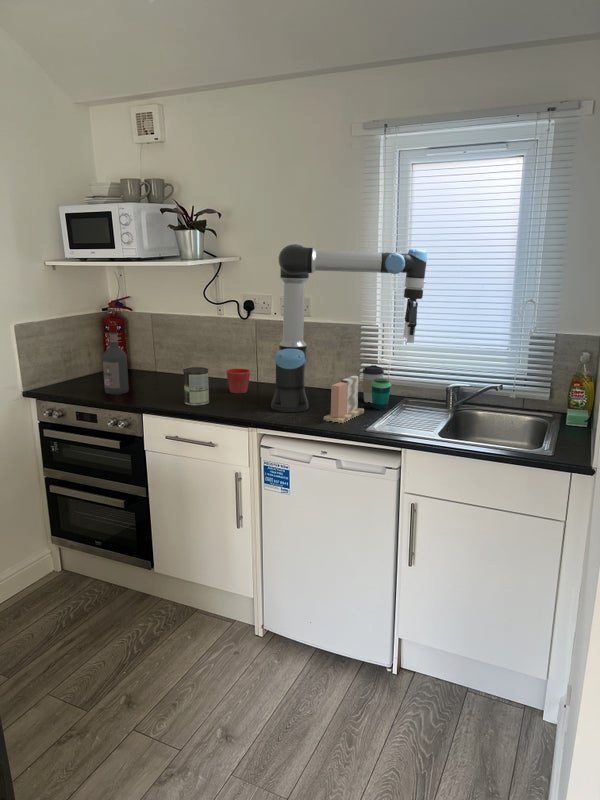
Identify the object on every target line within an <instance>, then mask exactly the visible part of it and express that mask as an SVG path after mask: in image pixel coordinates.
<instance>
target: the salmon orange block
mask: <svg viewBox="0 0 600 800" xmlns="http://www.w3.org/2000/svg"><path fill="white" fill-rule="evenodd" d="M330 387H331V388H330V389H331V391H330V392H331V393H330V394H331V395H330V397H331V398H330V414H331V416H332V417H340V416H342V415H344V414H346V413H347V383H343V382H341V381H339V382H337V383H334V384H332V385H331V386H330Z"/></svg>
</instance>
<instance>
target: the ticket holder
mask: <svg viewBox="0 0 600 800" xmlns="http://www.w3.org/2000/svg"><path fill="white" fill-rule="evenodd" d="M340 382H343V383H347V413H346V414H344V415H342V416H340V417H332V416H331V413H329V414H327V415H324V416H323V421H324V420H326V421H325V422H329V421H332V422H331V423H334V422H338V423H337V424H340V423H343V424H345V423H347V422H348V420H349V421H351V420H353V419H354V417H355V418H356V416H357V417H358V416H360V415H362V414H364V413H365V409H364V408H362V407H361V408H360V407H359V408H358V403H359V401H358V399H359V397H358V396H359V376H358V375H351V376H349V377H346V378H343V379H341V381H340ZM352 418H353V419H352ZM350 419H351V420H350ZM346 421H347V422H346ZM344 422H345V423H344Z"/></svg>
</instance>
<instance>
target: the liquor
mask: <svg viewBox="0 0 600 800" xmlns="http://www.w3.org/2000/svg"><path fill="white" fill-rule="evenodd" d="M108 334H109V345H108V348H107V350H105V352H104V353H102V354H103V355H102V368H103V370H102V371H103V381H104V385H103V386H104V393H105V394H108V395H117V396H118V395H122V394H126V393H128V392H129V391H130V388H129V373H128V372H129V371H128V356H127V353H126V352H125V351H124V350H123V349H122V348H121V347H120V345H119V340H118V338H119V337H118V325H117V324H108Z"/></svg>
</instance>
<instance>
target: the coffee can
mask: <svg viewBox="0 0 600 800" xmlns="http://www.w3.org/2000/svg"><path fill="white" fill-rule="evenodd" d="M182 372H183V387H184V388H183V390H184V404H185V405H188V406H203V405H206V404H209V403H210V394H209V393H210V391H209V387H210V386H209V368H207V367H203V366H202V367H201V366H199V367H198V366H197V367H195V366H194V367H193V366H192V367H187V368H183V371H182Z"/></svg>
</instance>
